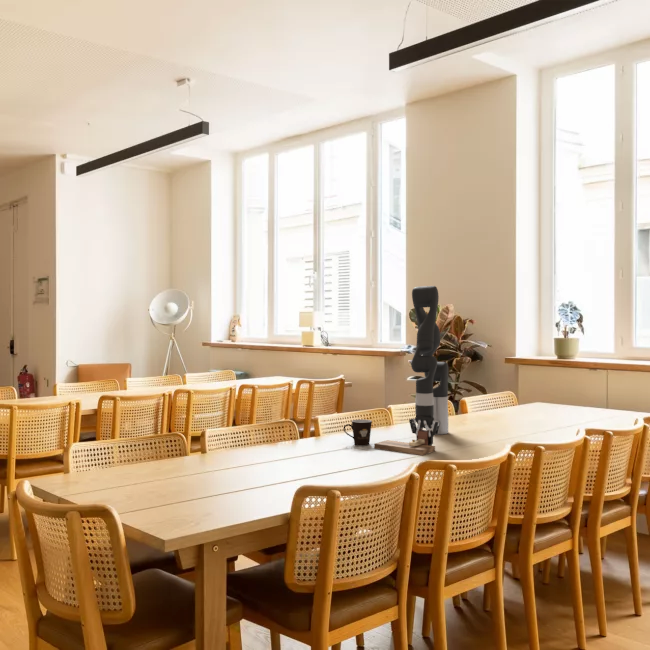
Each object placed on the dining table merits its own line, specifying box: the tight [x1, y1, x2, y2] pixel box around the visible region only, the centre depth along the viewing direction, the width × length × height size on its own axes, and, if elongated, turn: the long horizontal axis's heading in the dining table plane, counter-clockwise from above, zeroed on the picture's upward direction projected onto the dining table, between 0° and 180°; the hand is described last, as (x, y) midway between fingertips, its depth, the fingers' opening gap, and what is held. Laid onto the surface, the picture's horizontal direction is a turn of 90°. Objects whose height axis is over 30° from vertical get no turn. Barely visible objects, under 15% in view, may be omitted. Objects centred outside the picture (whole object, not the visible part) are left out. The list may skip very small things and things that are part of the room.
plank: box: [373, 439, 436, 456], centre depth 294 cm, size 10×23×2 cm, turn 52°
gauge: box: [408, 429, 433, 446], centre depth 294 cm, size 12×4×7 cm, turn 142°
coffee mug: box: [343, 419, 373, 447], centre depth 307 cm, size 12×9×10 cm
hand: (424, 444), depth 297 cm, fingers closed on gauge, 4 cm apart
